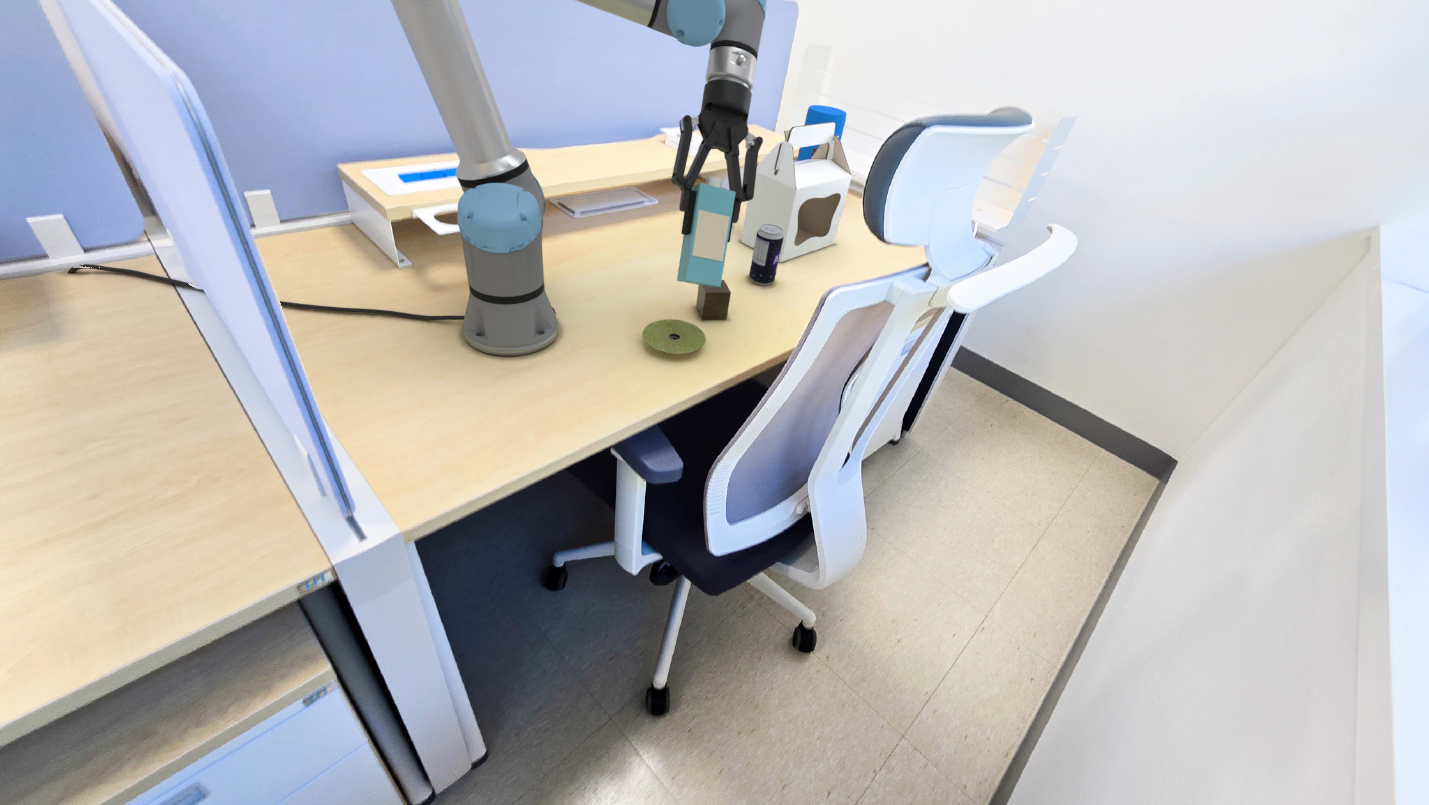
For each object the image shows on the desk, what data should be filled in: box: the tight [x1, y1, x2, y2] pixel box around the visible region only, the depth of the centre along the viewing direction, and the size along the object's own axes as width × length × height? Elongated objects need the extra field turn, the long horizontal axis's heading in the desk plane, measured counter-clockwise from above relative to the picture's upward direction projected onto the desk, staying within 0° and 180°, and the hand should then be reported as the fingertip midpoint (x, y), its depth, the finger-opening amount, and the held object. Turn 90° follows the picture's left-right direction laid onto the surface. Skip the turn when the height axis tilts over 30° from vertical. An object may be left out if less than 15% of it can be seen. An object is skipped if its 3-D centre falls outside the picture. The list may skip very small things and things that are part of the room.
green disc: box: [641, 318, 707, 355], centre depth 102 cm, size 11×11×2 cm
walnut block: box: [695, 279, 732, 321], centre depth 111 cm, size 5×5×6 cm
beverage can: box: [748, 224, 784, 286], centre depth 123 cm, size 6×6×12 cm
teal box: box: [676, 176, 736, 287], centre depth 93 cm, size 6×14×14 cm, turn 10°
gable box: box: [740, 122, 853, 263], centre depth 137 cm, size 22×13×28 cm, turn 135°
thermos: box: [796, 104, 847, 162], centre depth 165 cm, size 11×11×25 cm
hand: (705, 237), depth 93 cm, fingers closed on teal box, 6 cm apart
